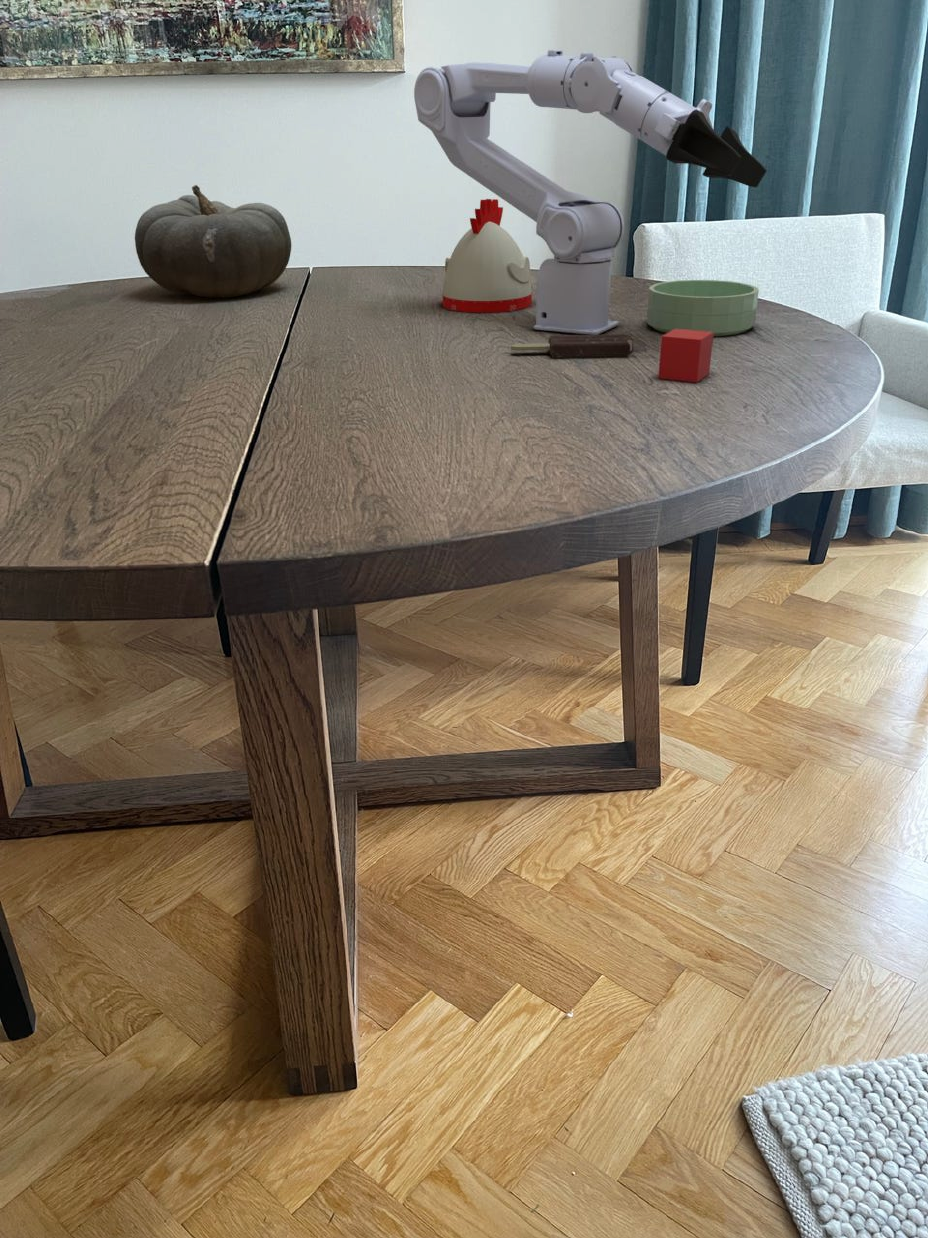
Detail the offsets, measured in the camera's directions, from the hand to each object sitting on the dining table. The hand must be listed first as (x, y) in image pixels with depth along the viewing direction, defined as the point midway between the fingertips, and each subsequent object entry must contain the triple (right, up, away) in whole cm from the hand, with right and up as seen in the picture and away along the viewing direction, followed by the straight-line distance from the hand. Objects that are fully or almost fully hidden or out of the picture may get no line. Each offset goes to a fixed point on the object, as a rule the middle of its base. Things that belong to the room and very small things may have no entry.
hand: (748, 172), depth 104 cm
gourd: (-74, +7, +57) cm, 93 cm away
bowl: (0, -10, +23) cm, 25 cm away
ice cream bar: (-19, -17, +10) cm, 28 cm away
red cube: (-7, -23, -1) cm, 24 cm away
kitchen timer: (-28, -1, +41) cm, 50 cm away
